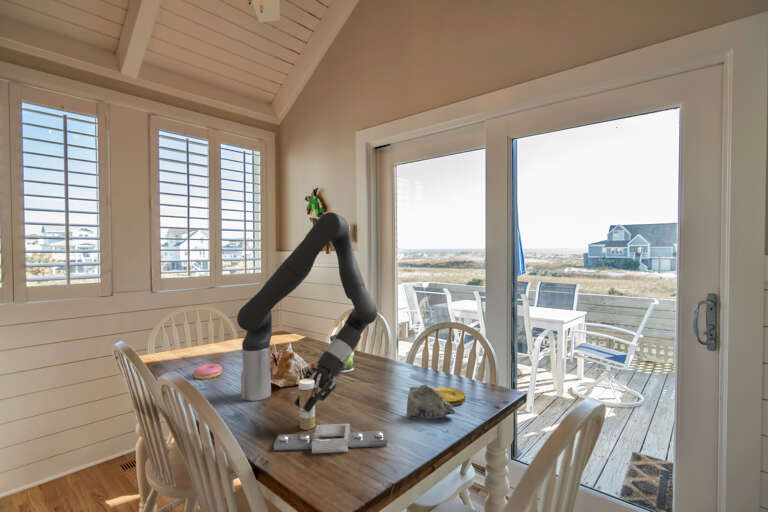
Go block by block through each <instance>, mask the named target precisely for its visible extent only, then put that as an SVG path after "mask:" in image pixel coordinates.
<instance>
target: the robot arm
mask: <svg viewBox="0 0 768 512" xmlns="http://www.w3.org/2000/svg"><path fill="white" fill-rule="evenodd" d="M351 238H352V237H351V232H350V226H349V223H348V221H347V220H346V219H345V218H344V217H342V216H341V215H340V214H338V213H335V212H331V211H329V212H326V213H325V212H324V213H323V214H322V215H320V217H318V219H317V220H316V222H315V223H314V225H313V226H312V227H311V228H310V230H309V231H308V233H307V234H306V236H305V237H304V239H303V240H302V241H301V242H300V243H299V244H298V245H297V246H296V247H295V249H294V250H293V251H292V252H291V253H290V254H289V255H288V256H287V258H286V259H285V260H283V262H282V263H281V264H280V265H279V267H278V268H277V269H276V271H275V272H273V274H272V275H271V277H269V279H268V280H267V281H266V282H265V283H264V285H263V286H262V288H261V289H260V290H259V291H257V293H256V294H255V295H253V297H251V299H250V300H248V302H246V303H245V304H244V305H243V306H241V308H240V310H239V311H238V313H237V317H236V320H237V321H236V322H237V325H238V327H240V328H241V329H242V330H243V331H246V334H245V337H244V339H243V340H242V342H241V343H242V344H241V346H242V347H241V348H242V350H241V351H242V371H241V372H240V383H241V385H240V387H241V389H240V390H241V393H240V394H241V400H245V401H248V402H249V401H250V402H256V401H261V400H264V399H268V398H269V397H270V396H271V395H272V385H271V384H272V381H271V380H272V379H271V377H272V376H271V375H272V374H271V347H270V346H271V339H272V335H273V334H272V329H273V328H272V327H273V325H272V324H273V319H272V318H273V317H272V311H271V310H272V309H273V308H274V307H275V306H276V305H277V304H278V303H279V302H281V301H282V300H284V299H285V298H286V297H287V296H289V294H291V293H292V292H293V291H295V290H296V289H297V288H298V287H299V286H300V285H301V284H302V283H303V281H304V280H305V279H306V278H307V277H308V276H309V274H310V272H311V271H312V269H313V267H314V264H315V262H316V259H317V257H318V256H319V254H320V252H321V251H322V250H323V249H324V248H325V247H326V246H327V245H328V244H329V243H331V245H332V247H333V249H334V251H335V254H336V258H337V263H338V272H339V280H340V282H341V285H342V288H343V291H344V293H345V296H346V297H347V299H348V300H351V303H352V305H353V309H352V310H351V312H350V313H349V315H348V317H347V319H346V320H345V322H344V324H343V326H342V328H341V329H340V330H339V331H338V333H337V334H336V335H337V336H336V337H335V338H334V340H333V341H332V342H331V343H330V342H329V344H328V345H327V347H326V348H325V350H324V352H323V353H322V354H321V356H320V357H319V358H318V360H317V362H316V365H317V367H316V368H315V369H314V370H313V371H311V370H307V371H306V372H305V374H304V375H303V376H304V377H303V379H313V380H314V381H315V386H314V391H313V393H312V397H310V398H309V399H308V401H307V402H306V404H305V405H304V407H303V409H304V410H305V411H306V412H310V410H311V409H312V408H313V406H314V405H315V406H316V403H317V402H319V401H320V402H321V401H322V402H323V401H325V399H326V398H327V397H328V396H329V395H330V394H331V393H332V392H333V391H334V390H335V388H336V387H337V384H336V383H335V381H333V380H334V378H337V377H338V376H339V375H340V372H341V370H342V369H343V367H344V365H345V364H346V362H347V361H348V359H349V358H350V356H351V354H352V352H353V350H355V349H356V346H358V344H359V342H360V340H361V337H362V333H363V332H364V330H365V329H366V328H367V326H368V325H371V324H372V323H373V322H375V320H376V319H377V316H378V312H377V306H376V304H375V301H374V300H373V299H372V296H371V295H370V293H369V292H368V290H367V288H366V284H365V282H364V278H363V276H362V272H361V271H360V268H359V265H358V261H357V259H356V256H355V252H354V248H353V243H352V242H353V241H352V239H351ZM341 373H342V372H341ZM294 405H295V406H297V407H298V408H300V394H299V395H298V396H297V398H296V399H295V401H294Z"/></svg>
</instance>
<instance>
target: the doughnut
mask: <svg viewBox="0 0 768 512" xmlns="http://www.w3.org/2000/svg"><path fill="white" fill-rule="evenodd" d="M222 373H223V367H222V365H220V364H219V363H208V364H202V365H199V366H198V367H196V368H195V369H194V370H193V375H194V377H195V378H196V379H198V380H199V379H200V380H207V379H206V378H210V379H213V378H212V377H214V378H216V376H217V377H218V375H219V376H220V375H221V374H222Z"/></svg>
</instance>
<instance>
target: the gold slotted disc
mask: <svg viewBox="0 0 768 512" xmlns="http://www.w3.org/2000/svg"><path fill="white" fill-rule="evenodd" d="M433 389H434V390H436V391H438V392H439V393H440V394H441V396H442V397H443V399H444V401H446V402H447V403H449V404H451V405H452V406H456V405H460V404H461V405H464V404H465V402H466V394H465V392H464V391H463V390H461V389H458V388H455V387H447V386H446V387H436V388H433ZM463 403H464V404H463Z"/></svg>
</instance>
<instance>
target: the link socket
mask: <svg viewBox="0 0 768 512" xmlns="http://www.w3.org/2000/svg"><path fill="white" fill-rule="evenodd" d="M350 425H351V424H350V423H332V424H331V423H328V424H327V423H326V424H316V425H315V426H316V427H315V429H314V436H313V439H312V449H311V454H324V453H326V454H327V453H330V454H331V453H347V452H349V448H348V439H349V432H351V426H350ZM334 436H340V438H339V437H335V438H334ZM331 437H332V438H331Z"/></svg>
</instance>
